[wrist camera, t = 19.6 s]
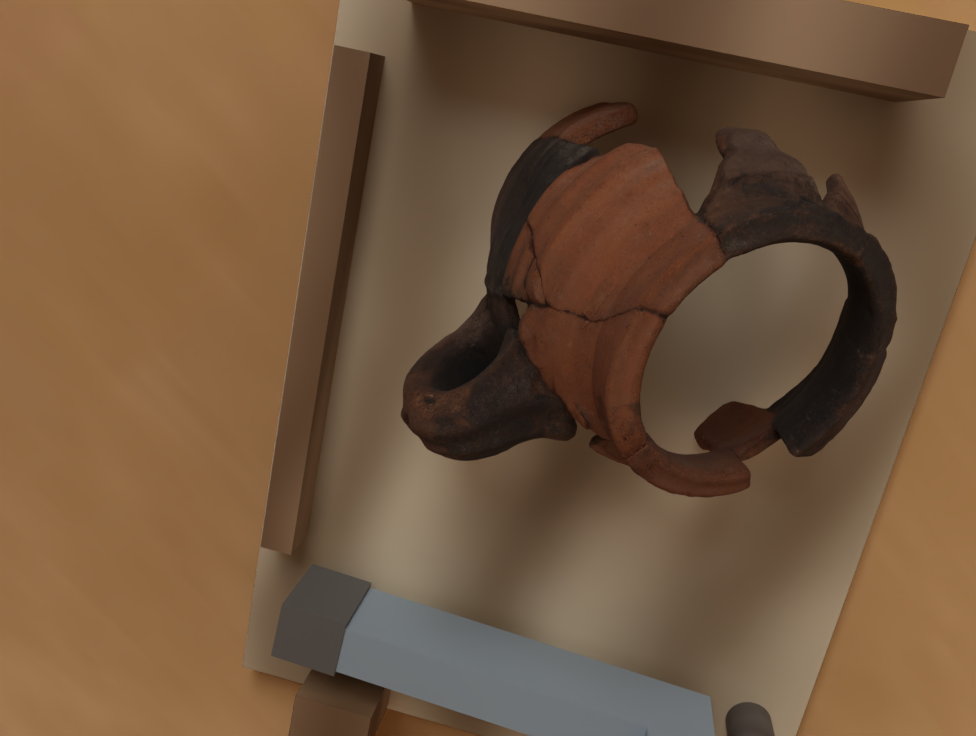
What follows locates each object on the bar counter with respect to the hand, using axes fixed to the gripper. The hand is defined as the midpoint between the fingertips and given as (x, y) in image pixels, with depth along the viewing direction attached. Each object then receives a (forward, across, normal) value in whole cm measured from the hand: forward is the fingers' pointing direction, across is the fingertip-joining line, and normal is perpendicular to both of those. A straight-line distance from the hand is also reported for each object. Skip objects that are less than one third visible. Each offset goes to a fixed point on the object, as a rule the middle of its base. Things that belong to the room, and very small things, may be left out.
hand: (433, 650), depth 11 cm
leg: (+16, +2, -10) cm, 19 cm away
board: (+17, +2, -2) cm, 17 cm away
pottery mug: (+16, +2, +2) cm, 16 cm away
